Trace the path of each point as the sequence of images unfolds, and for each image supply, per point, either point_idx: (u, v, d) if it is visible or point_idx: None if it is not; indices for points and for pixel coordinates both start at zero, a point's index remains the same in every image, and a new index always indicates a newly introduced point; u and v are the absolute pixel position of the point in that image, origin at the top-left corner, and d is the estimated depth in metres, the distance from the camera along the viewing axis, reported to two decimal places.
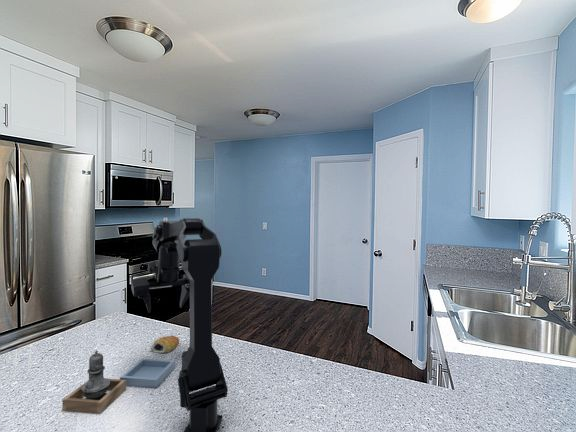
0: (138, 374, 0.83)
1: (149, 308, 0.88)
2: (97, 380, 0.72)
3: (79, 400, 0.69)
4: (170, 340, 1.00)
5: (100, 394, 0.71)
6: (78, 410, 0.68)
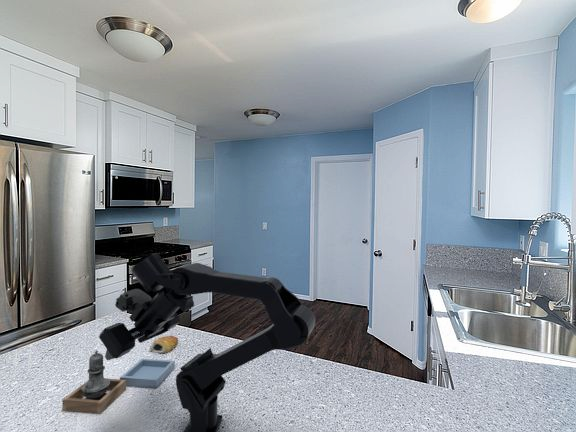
0: (138, 374, 0.83)
1: None
2: (97, 380, 0.72)
3: (79, 400, 0.69)
4: (169, 340, 1.00)
5: (100, 394, 0.71)
6: (78, 410, 0.68)
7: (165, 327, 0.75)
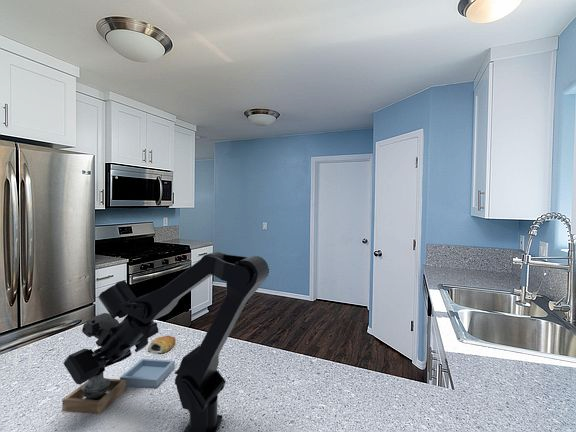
0: (138, 374, 0.83)
1: None
2: (97, 380, 0.72)
3: (79, 400, 0.69)
4: (167, 340, 1.00)
5: (100, 394, 0.71)
6: (78, 410, 0.68)
7: (125, 354, 0.75)
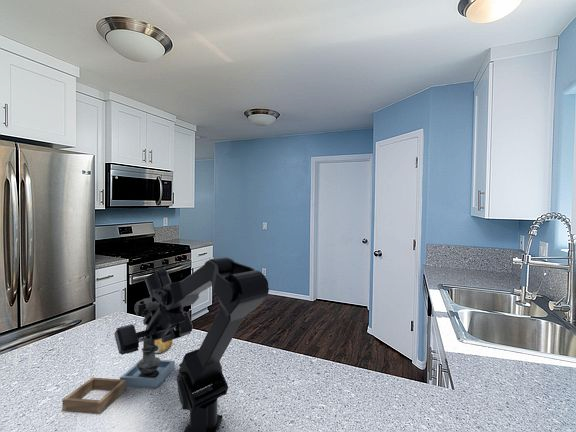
0: (138, 374, 0.83)
1: None
2: (148, 358, 0.81)
3: (79, 400, 0.69)
4: None
5: (149, 371, 0.81)
6: (78, 410, 0.68)
7: (179, 333, 0.84)
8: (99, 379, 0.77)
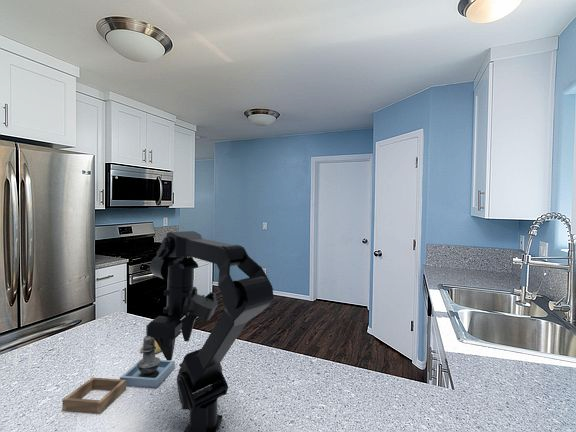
0: (138, 374, 0.83)
1: None
2: (148, 358, 0.81)
3: (79, 400, 0.69)
4: None
5: (149, 371, 0.81)
6: (78, 410, 0.68)
7: None
8: (99, 379, 0.77)
